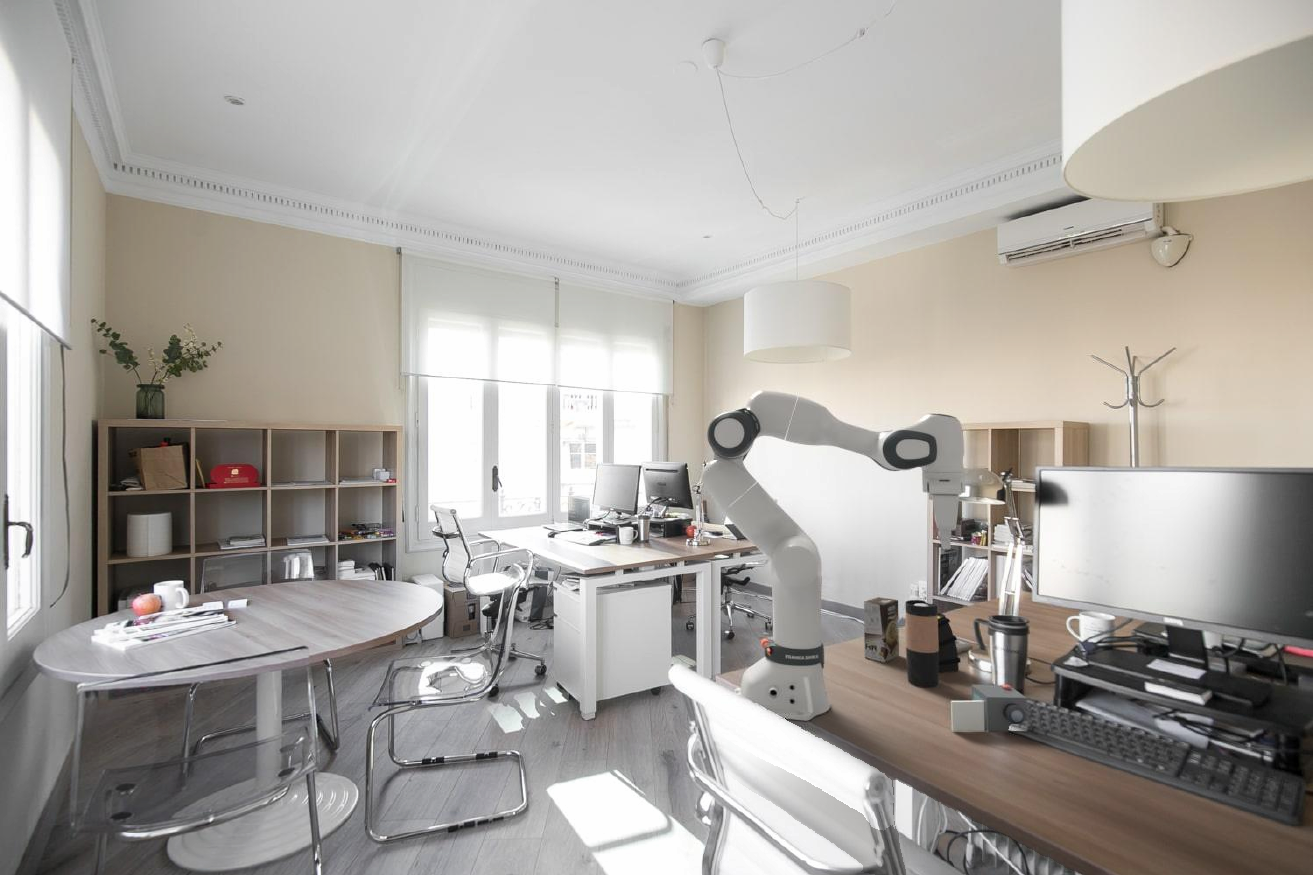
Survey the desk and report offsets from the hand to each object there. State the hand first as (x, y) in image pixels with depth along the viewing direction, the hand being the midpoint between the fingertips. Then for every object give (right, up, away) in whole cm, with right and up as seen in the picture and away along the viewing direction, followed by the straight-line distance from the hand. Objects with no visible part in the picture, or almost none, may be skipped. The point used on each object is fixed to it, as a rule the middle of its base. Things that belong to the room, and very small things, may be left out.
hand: (945, 545), depth 137 cm
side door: (0, -36, -11) cm, 38 cm away
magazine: (+9, -38, +25) cm, 47 cm away
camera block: (+8, -37, -8) cm, 38 cm away
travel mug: (+2, -38, +17) cm, 41 cm away
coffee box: (-1, -39, +37) cm, 53 cm away
